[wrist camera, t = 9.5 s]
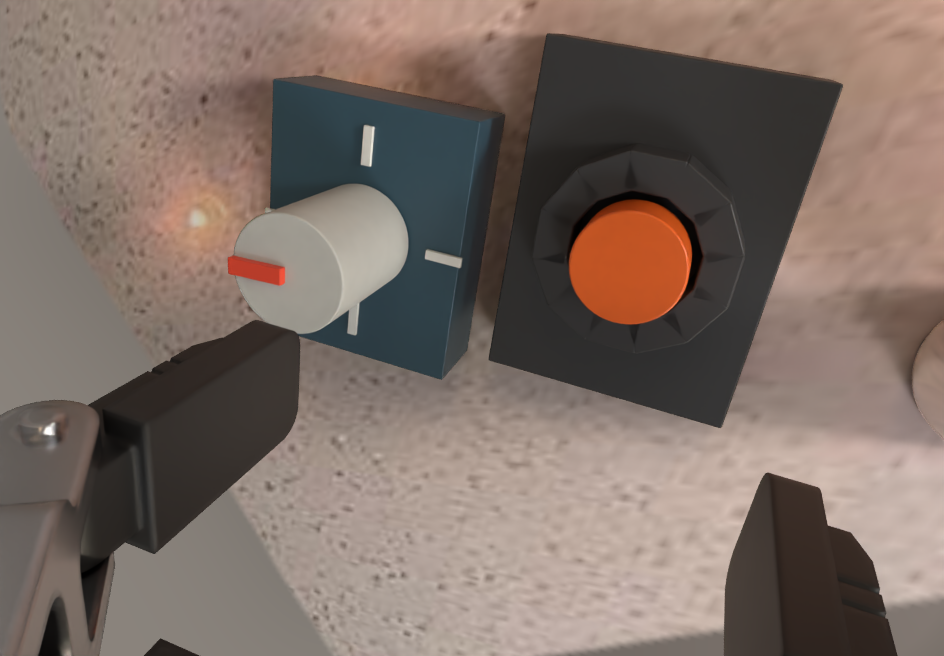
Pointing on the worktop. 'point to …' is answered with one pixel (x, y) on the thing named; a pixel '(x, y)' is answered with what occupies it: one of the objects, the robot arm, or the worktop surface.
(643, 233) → the button
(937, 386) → the silver metal cup
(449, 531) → the worktop surface
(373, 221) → the dial
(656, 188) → the orange push button panel
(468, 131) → the knob panel
